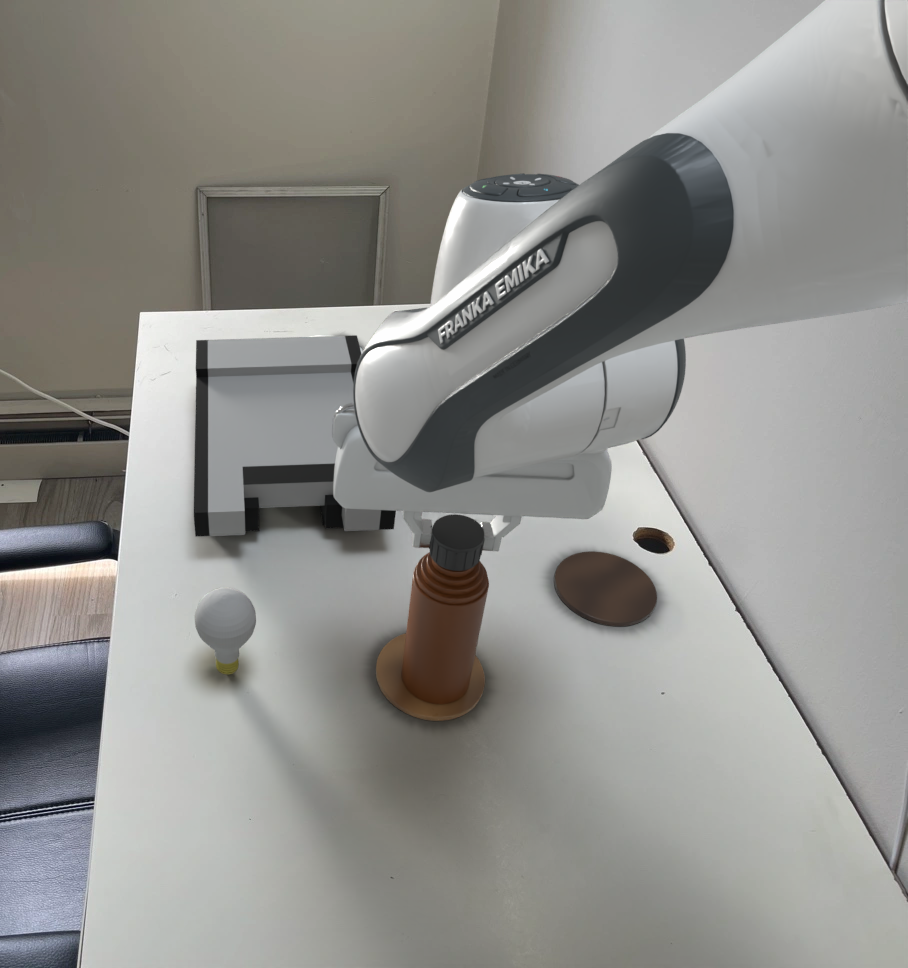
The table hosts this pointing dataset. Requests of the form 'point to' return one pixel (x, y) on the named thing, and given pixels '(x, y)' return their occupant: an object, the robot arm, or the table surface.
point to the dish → (605, 588)
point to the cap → (456, 542)
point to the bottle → (443, 630)
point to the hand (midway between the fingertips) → (454, 544)
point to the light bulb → (225, 625)
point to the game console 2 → (271, 431)
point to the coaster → (409, 704)
